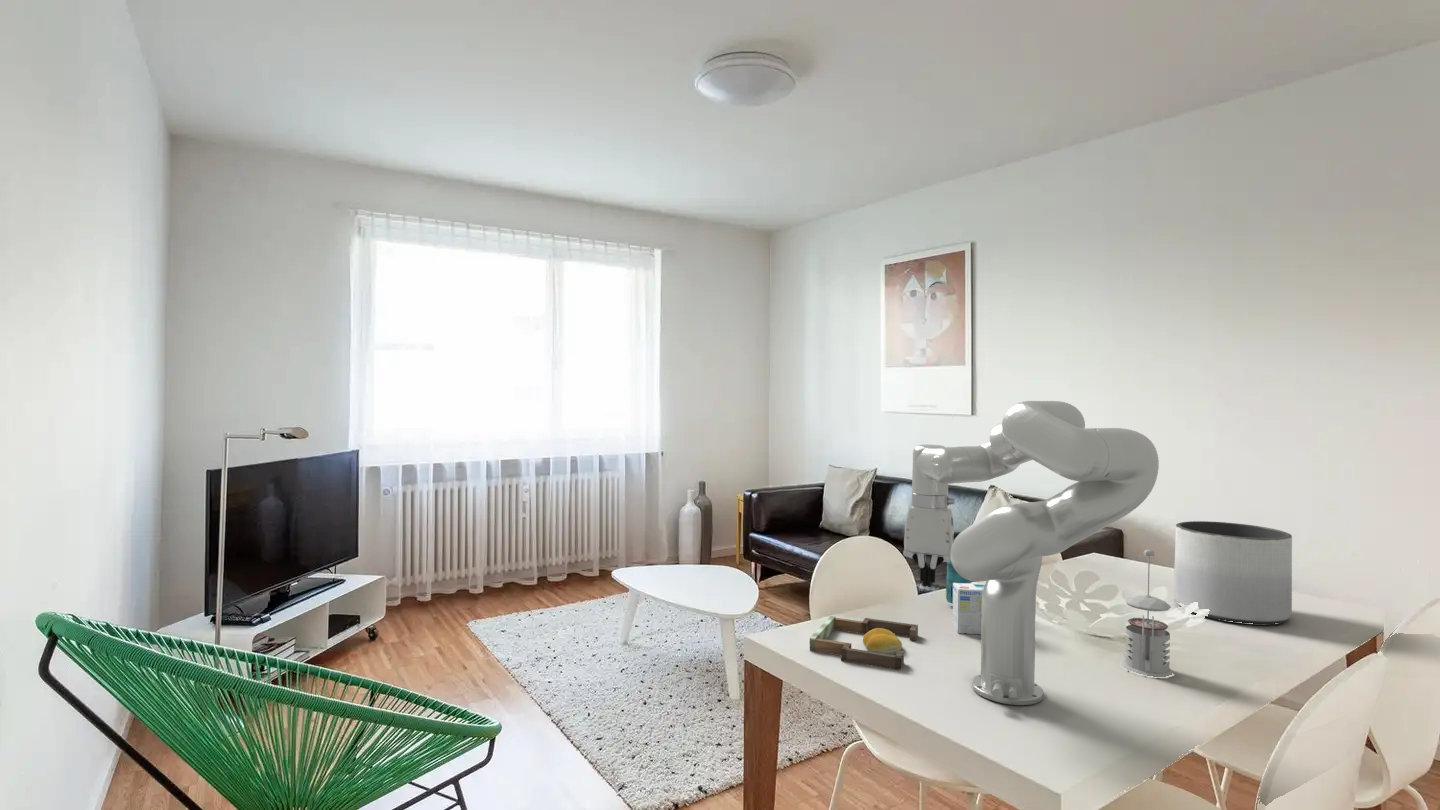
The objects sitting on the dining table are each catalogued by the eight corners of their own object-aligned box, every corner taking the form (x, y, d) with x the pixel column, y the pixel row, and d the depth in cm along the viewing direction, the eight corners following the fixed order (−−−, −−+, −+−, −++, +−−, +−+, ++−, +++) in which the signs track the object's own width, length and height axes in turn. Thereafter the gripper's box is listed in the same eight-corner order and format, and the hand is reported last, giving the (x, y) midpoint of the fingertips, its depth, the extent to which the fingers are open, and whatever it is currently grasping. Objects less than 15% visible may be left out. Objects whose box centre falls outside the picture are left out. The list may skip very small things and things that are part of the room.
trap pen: (900, 670, 146) (900, 656, 146) (805, 654, 154) (805, 641, 154) (917, 635, 168) (917, 623, 168) (833, 623, 176) (833, 612, 176)
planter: (1280, 635, 171) (1282, 543, 170) (1160, 610, 189) (1162, 527, 189) (1300, 613, 188) (1301, 530, 188) (1188, 593, 207) (1190, 517, 206)
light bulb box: (995, 626, 175) (996, 583, 175) (1004, 636, 168) (1004, 590, 168) (951, 625, 176) (951, 581, 176) (957, 634, 169) (958, 588, 169)
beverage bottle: (954, 602, 195) (955, 529, 195) (976, 607, 190) (977, 533, 190) (940, 606, 191) (941, 532, 191) (962, 612, 186) (963, 536, 186)
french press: (1174, 666, 150) (1176, 548, 149) (1176, 685, 140) (1178, 558, 139) (1120, 657, 155) (1122, 542, 154) (1118, 675, 145) (1121, 552, 144)
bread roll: (869, 656, 155) (869, 638, 155) (859, 642, 164) (860, 624, 163) (907, 656, 155) (907, 637, 155) (895, 641, 164) (895, 624, 164)
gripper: (967, 502, 155) (965, 585, 156) (897, 496, 161) (896, 577, 162) (964, 507, 148) (961, 594, 149) (891, 501, 155) (889, 585, 155)
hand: (927, 585), depth 155 cm, fingers closed
